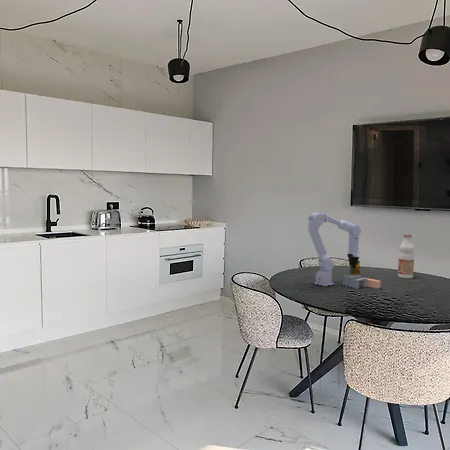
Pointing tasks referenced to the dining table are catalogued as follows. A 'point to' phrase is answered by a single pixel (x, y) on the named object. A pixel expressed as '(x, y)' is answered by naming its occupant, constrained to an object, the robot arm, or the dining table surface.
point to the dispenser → (354, 281)
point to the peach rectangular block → (373, 283)
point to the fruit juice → (406, 258)
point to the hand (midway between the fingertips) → (352, 266)
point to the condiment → (355, 269)
